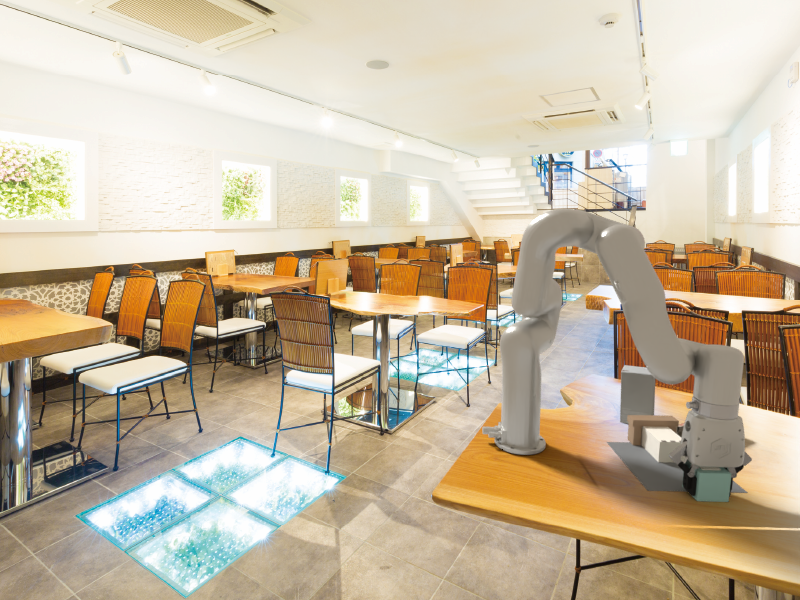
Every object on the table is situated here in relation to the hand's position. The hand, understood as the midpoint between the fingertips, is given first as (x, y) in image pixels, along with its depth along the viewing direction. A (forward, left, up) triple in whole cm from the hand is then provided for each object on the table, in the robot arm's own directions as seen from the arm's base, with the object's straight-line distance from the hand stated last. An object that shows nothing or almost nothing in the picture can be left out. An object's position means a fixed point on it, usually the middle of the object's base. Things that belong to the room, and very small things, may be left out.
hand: (706, 491), depth 93 cm
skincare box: (+2, +36, -1) cm, 36 cm away
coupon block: (0, +19, -1) cm, 19 cm away
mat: (-1, +12, -1) cm, 12 cm away
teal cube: (0, 0, -1) cm, 1 cm away
